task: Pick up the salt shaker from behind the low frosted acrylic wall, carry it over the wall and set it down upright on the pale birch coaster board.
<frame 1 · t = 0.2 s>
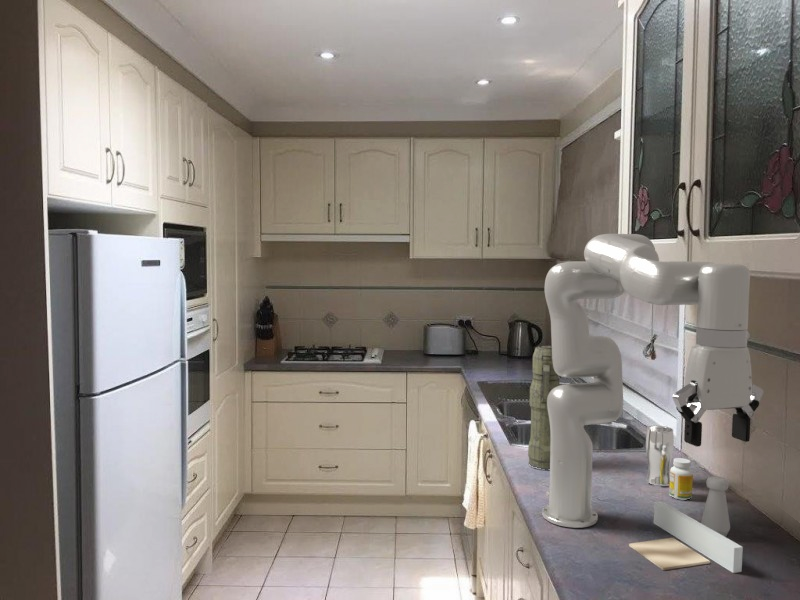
hand: (716, 441, 108), 31 cm above the worktop, tool pointing down, fingers open, 9 cm apart
coaster board: (668, 554, 135), on the worktop
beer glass: (658, 483, 176), on the worktop
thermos: (543, 466, 190), on the worktop
supplement bottle: (680, 497, 166), on the worktop
acrylic wall: (694, 545, 139), on the worktop
salt shaker: (714, 536, 144), on the worktop
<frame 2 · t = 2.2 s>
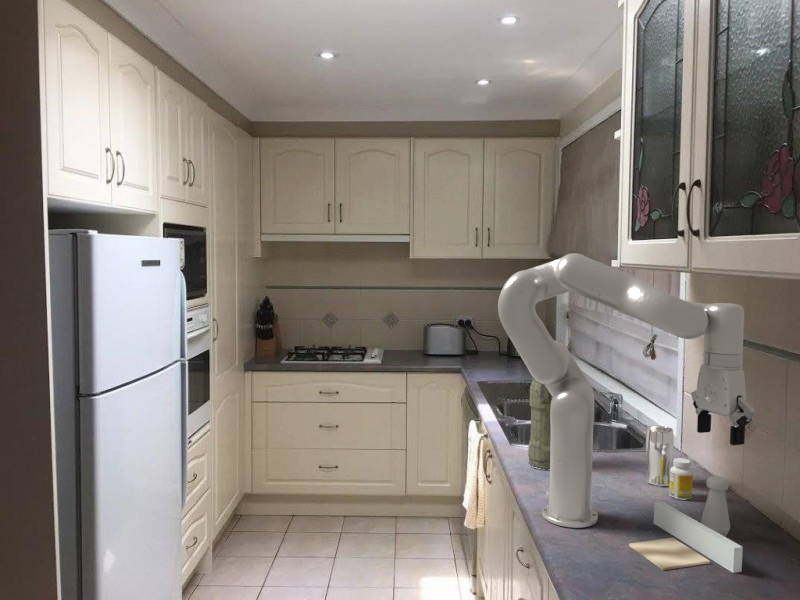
hand: (719, 438, 142), 22 cm above the worktop, tool pointing down, fingers open, 9 cm apart
nothing on the worktop moved.
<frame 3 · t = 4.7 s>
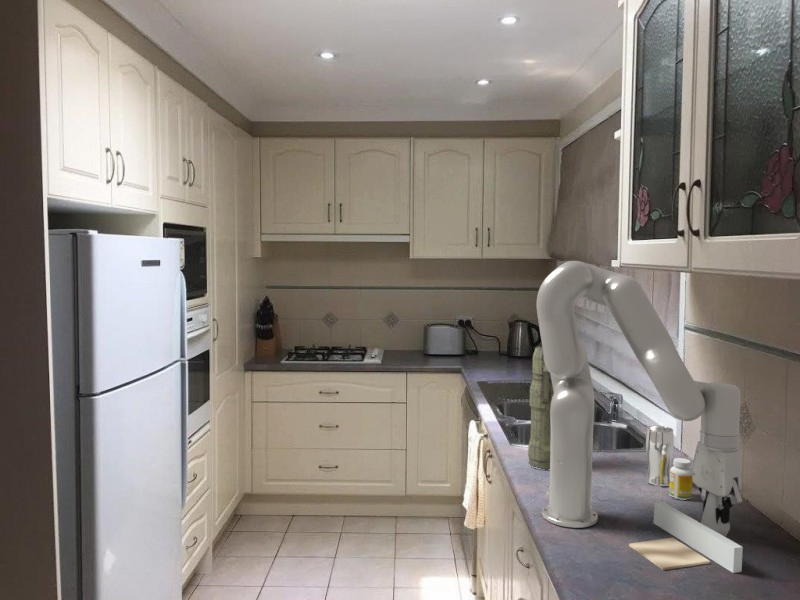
hand: (715, 521, 143), 3 cm above the worktop, tool pointing down, fingers closed on salt shaker, 3 cm apart
salt shaker: (714, 536, 144), on the worktop, touching gripper
everything else where it was.
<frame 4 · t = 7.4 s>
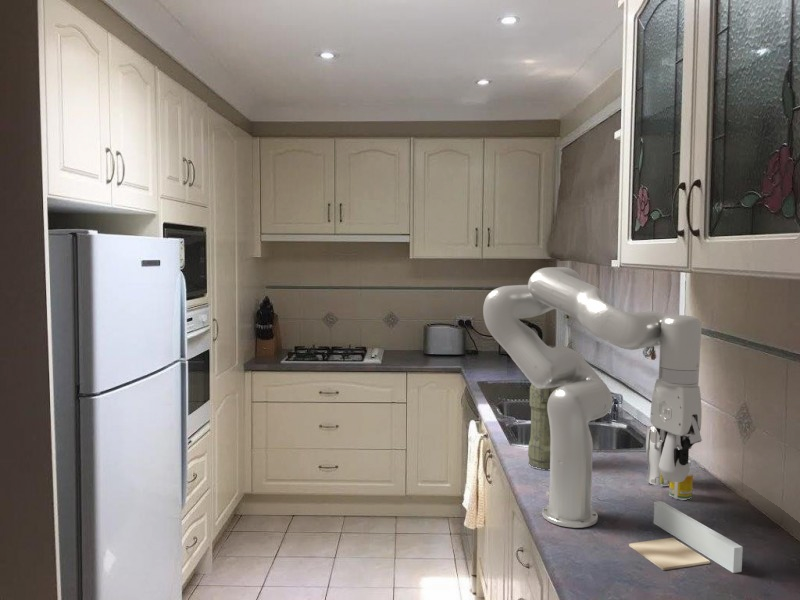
hand: (674, 463, 134), 19 cm above the worktop, tool pointing down, fingers closed on salt shaker, 3 cm apart
salt shaker: (673, 479, 134), point 15 cm above the worktop, touching gripper
everything else where it was.
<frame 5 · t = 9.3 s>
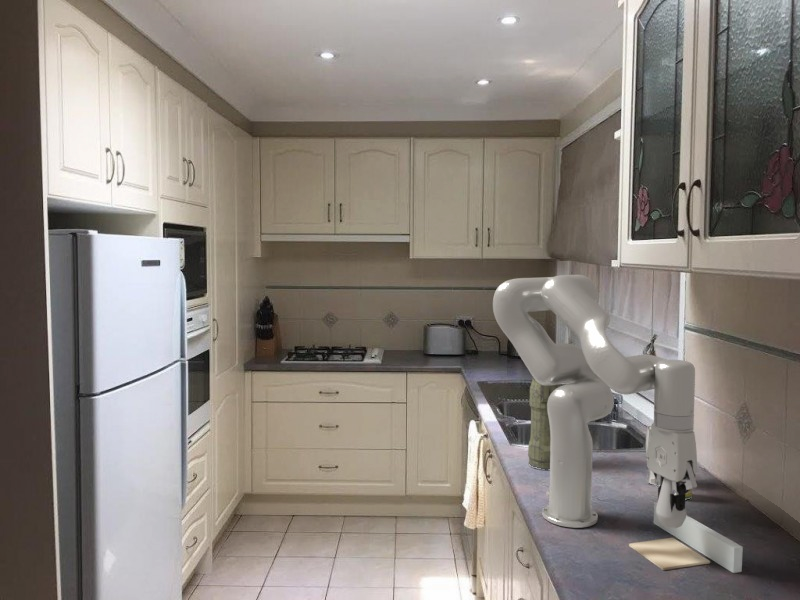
hand: (671, 508, 134), 10 cm above the worktop, tool pointing down, fingers closed on salt shaker, 3 cm apart
salt shaker: (670, 524, 134), point 6 cm above the worktop, touching gripper
everything else where it was.
when the fingers open (5 cm above the worktop, at t = 10.6 s): salt shaker stays where it is, resting on coaster board.
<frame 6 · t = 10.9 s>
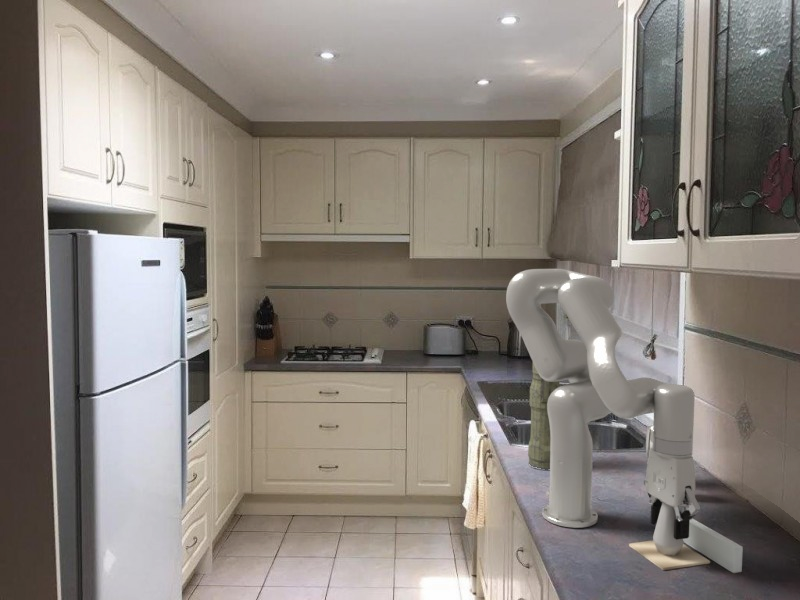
hand: (669, 530, 134), 5 cm above the worktop, tool pointing down, fingers open, 6 cm apart
salt shaker: (667, 552, 135), resting on coaster board
everything else where it was.
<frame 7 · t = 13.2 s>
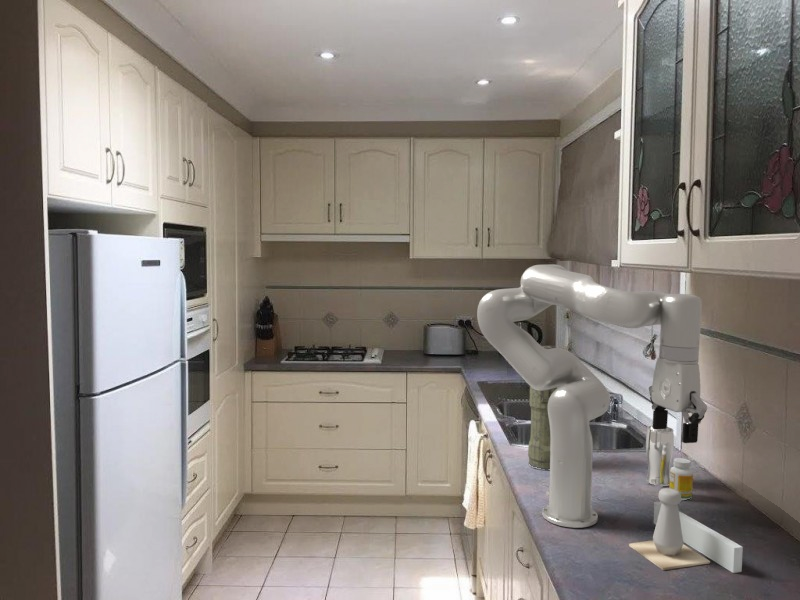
hand: (674, 435, 136), 24 cm above the worktop, tool pointing down, fingers open, 9 cm apart
nothing on the worktop moved.
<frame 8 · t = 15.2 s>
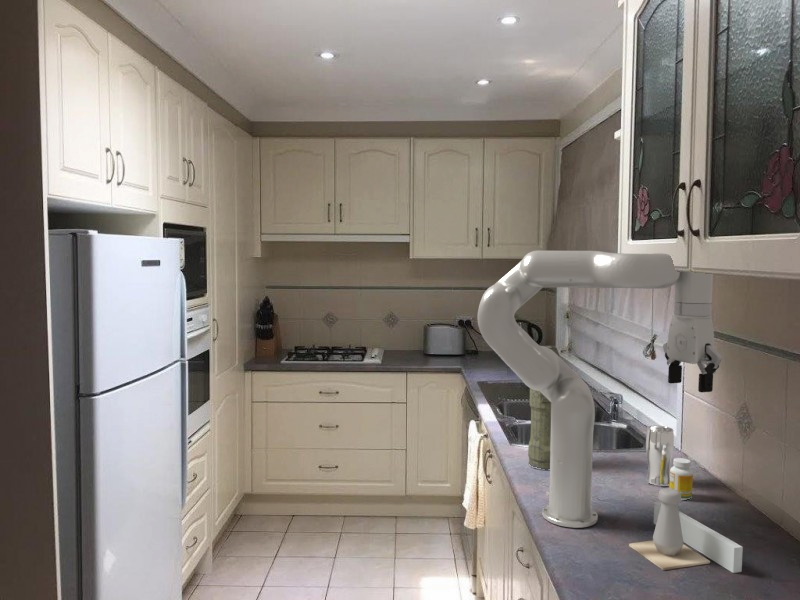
hand: (689, 387, 145), 32 cm above the worktop, tool pointing down, fingers open, 9 cm apart
nothing on the worktop moved.
at the end: salt shaker 0.2 cm off-centre on the coaster board, point 0.3 cm above the coaster board's base; salt shaker tilted 0°; the gripper is holding nothing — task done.
